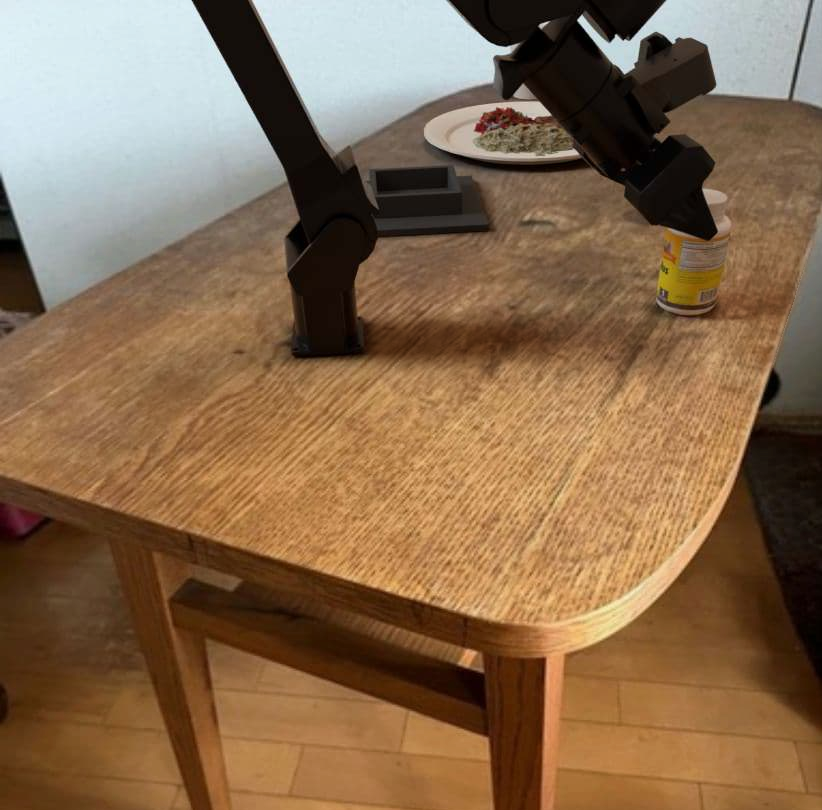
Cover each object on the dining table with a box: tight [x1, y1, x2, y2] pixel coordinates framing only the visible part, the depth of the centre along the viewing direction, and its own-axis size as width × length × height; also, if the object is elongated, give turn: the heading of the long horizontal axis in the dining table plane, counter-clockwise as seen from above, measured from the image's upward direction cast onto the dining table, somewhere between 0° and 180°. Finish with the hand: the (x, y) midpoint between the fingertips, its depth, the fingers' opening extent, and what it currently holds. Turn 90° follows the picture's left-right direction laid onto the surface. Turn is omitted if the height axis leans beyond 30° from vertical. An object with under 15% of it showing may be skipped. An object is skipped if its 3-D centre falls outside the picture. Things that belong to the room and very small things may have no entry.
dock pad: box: [365, 164, 490, 238], centre depth 104 cm, size 18×16×3 cm
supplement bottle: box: [655, 188, 733, 316], centre depth 78 cm, size 6×6×10 cm
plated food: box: [423, 101, 583, 166], centre depth 124 cm, size 30×30×3 cm
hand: (691, 217), depth 76 cm, fingers open, 9 cm apart
